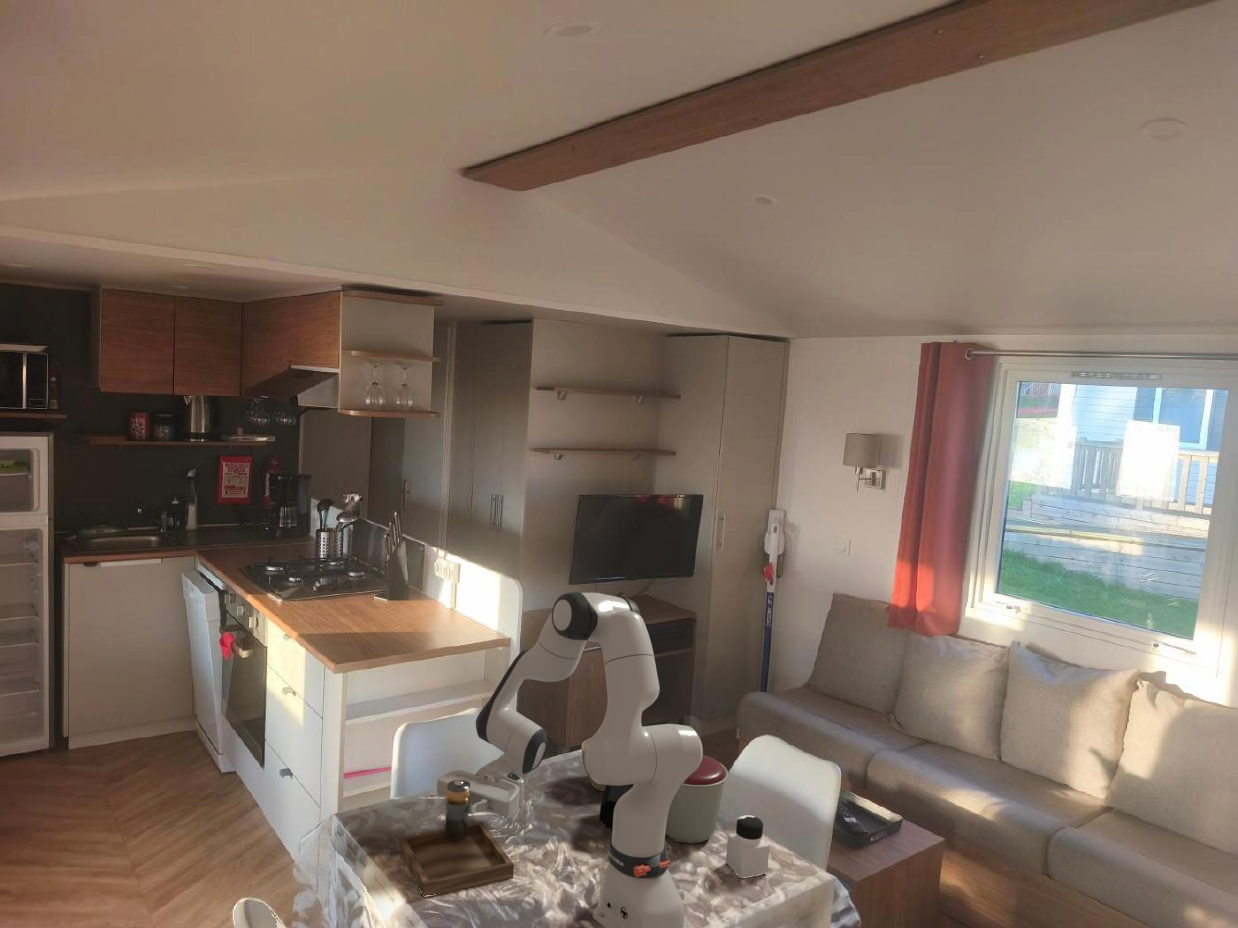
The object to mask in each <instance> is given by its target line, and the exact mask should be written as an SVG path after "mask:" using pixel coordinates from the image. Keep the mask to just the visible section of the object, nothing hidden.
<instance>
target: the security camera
mask: <svg viewBox="0 0 1238 928" xmlns="http://www.w3.org/2000/svg"><path fill="white" fill-rule="evenodd" d="M634 785H635V784H629V785H621V786H614V785H606V786H605V790H604V791H603V795H602V798H601V802H600V807H599V822H601V823H602V825H603V826H605V827H604V828H605V829H610V831H611V830H612V829H613V815H614V808H615V805H616V803H617V801H618V800H619V799H620V797H621V796H623V795H624V794H625V793H626V792H628V791H629V790H630V789H631V788H632V787H633V786H634Z"/></svg>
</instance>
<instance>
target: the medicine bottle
mask: <svg viewBox="0 0 1238 928" xmlns="http://www.w3.org/2000/svg"><path fill="white" fill-rule="evenodd" d="M735 829H736V830H735V833H730V834H728V835H727V842H726V843H727V844H726V855H725V864H726V863H727V864H728V865H730V867H731V868H732V869H733V870H734V871H735V872H736V873H737V874H738V875H739V877H741V878H743V877H748V876H752V875H758V874H761V873H765V872H767V873H768V867H769V853H770V845H769V844H768V843H767V842H766V841H765V840H764V839H763V833H764V832H763V831H764V822H763V821H762V820H761V818H759V817H757V816H754V815H749V814H747V815H745V814H744V815H741V816H738V818H737V819H736V827H735ZM727 864H726V865H727ZM728 865H727V866H728ZM730 867H729V868H730ZM731 868H730V869H731ZM732 869H731V870H732ZM733 870H732V871H733ZM734 871H733V872H734ZM735 872H734V873H735ZM739 877H738V878H739Z"/></svg>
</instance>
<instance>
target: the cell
mask: <svg viewBox="0 0 1238 928" xmlns="http://www.w3.org/2000/svg"><path fill="white" fill-rule="evenodd" d="M469 800H470V783H469V782H468V781H465V780H460V779H458V780H453V781H451V782H449V783H448V785H447V798H446V801H447V802H446V805H445V821H444V823H445V824H444V829H445V839H446V840H447V841H450V842H461V841H463V840H465V839H466V838H467V831H468V825H469V815H470V813H467V806H468V805H469Z"/></svg>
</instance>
